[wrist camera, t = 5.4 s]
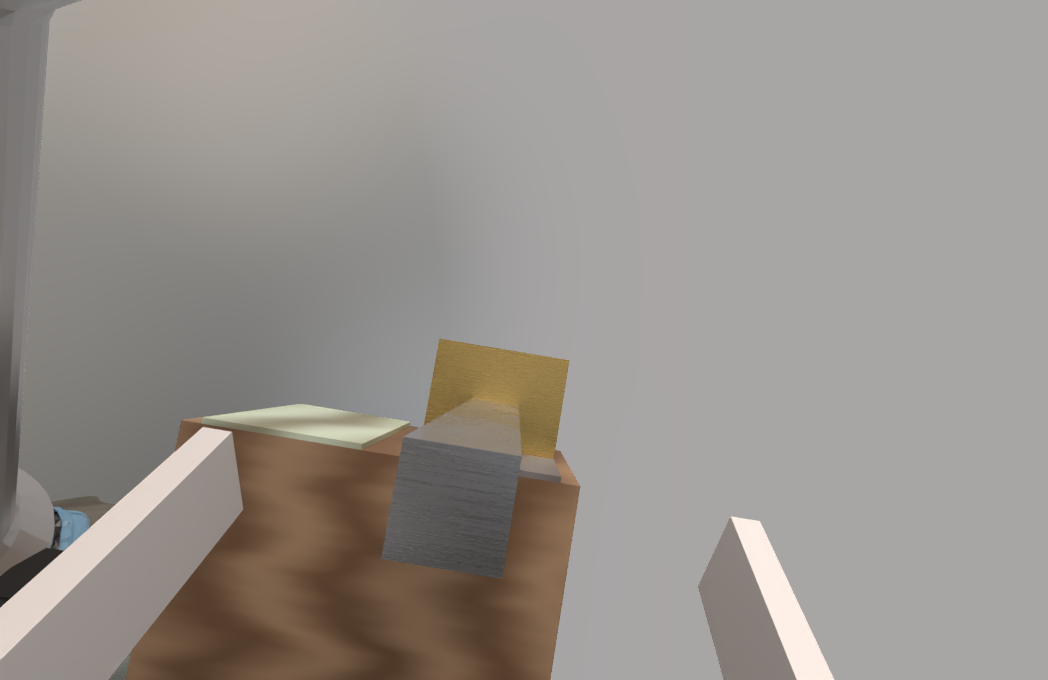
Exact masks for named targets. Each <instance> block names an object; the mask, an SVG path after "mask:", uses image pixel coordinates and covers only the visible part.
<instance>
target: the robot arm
mask: <svg viewBox="0 0 1048 680" xmlns="http://www.w3.org/2000/svg"><path fill="white" fill-rule="evenodd" d="M77 1H81V0H0V680H108V679H109V678H110V677H111V676H112V674H113V673H114V672H115V671H116V669H117V668H118V667H119V666H120V664H121V663H122V662H123V661H124V659H125V658H126V657H127V656H128V654H129V653H130V652H131V650H132V649H133V648H134V647H135V645H136V644H137V643H138V642H139V640H140V639H141V638H142V637H143V635H144V634H145V633H146V632H147V630H148V629H149V628H150V627H151V625H152V624H153V623H154V621H155V620H156V619H157V618H158V616H159V615H160V614H161V613H162V611H163V610H164V609H165V608H166V606H167V605H168V604H169V603H170V601H171V600H172V599H173V598H174V596H175V595H176V594H177V592H178V591H179V590H180V589H181V587H182V586H183V585H184V584H185V582H186V581H187V580H188V579H189V577H190V576H191V575H192V574H193V572H194V571H195V570H196V569H197V567H198V566H199V565H200V563H201V562H202V561H203V560H204V558H205V557H206V556H207V555H208V553H209V552H210V551H211V550H212V548H213V547H214V546H215V545H216V543H217V542H218V541H219V540H220V538H221V537H222V536H223V534H224V533H225V532H226V531H227V529H228V528H229V527H230V526H231V524H232V523H233V522H234V521H235V519H236V518H237V517H238V516H239V514H240V513H241V512H242V511H243V503H242V496H241V490H240V483H239V476H238V469H237V462H236V455H235V449H234V442H233V435H232V432H230V431H224V430H218V429H212V428H206V427H202V428H201V429H200V430H199V431H198V432H197V433H196V434H195V435H193V436H192V437H191V438H190V439H189V440H188V441H187V442H186V443H184V444H183V445H182V446H181V447H180V448H179V449H178V450H177V451H175V452H174V453H173V454H172V455H171V456H170V457H169V458H168V459H167V460H165V461H164V462H163V463H162V464H161V465H160V466H159V467H158V468H156V469H155V470H154V471H153V472H152V473H151V474H150V475H149V476H147V477H146V478H145V479H144V480H143V481H142V482H141V483H140V484H139V485H137V486H136V487H135V488H134V489H133V490H132V491H131V492H129V493H128V494H127V495H126V496H125V497H124V498H123V499H122V500H121V501H119V502H118V503H117V504H116V505H115V506H114V507H113V508H112V509H110V510H109V511H108V512H107V513H106V514H105V515H104V516H103V517H101V518H100V519H99V520H98V521H97V522H96V523H95V524H94V525H92V526H91V527H90V521H89V519H88V517H87V516H86V515H85V513H83V512H80V511H71V510H66V509H64V508H60V507H53V505H52V503H51V501H50V498H49V496H48V494H47V493H46V491H45V490H44V489H43V488H42V486H41V485H40V484H39V483H38V482H37V481H36V480H35V479H34V478H33V477H31V476H30V475H29V474H27V473H26V472H24V471H23V470H21V469H20V468H18V461H19V448H20V434H21V419H22V405H23V391H24V376H25V362H26V348H27V334H28V319H29V305H30V291H31V276H32V261H33V248H34V233H35V220H36V205H37V191H38V176H39V163H40V149H41V134H42V120H43V119H42V118H43V106H44V92H45V77H46V63H47V49H48V34H49V21H50V19H51V17H52V15H53V13H54V11H55V9H58V8H61V7H63V6H66V5H69V4H72V3H75V2H77ZM698 588H699V592H700V595H701V599H702V603H703V606H704V610H705V613H706V617H707V621H708V624H709V628H710V632H711V635H712V639H713V642H714V646H715V649H716V653H717V657H718V660H719V664H720V668H721V671H722V674H723V678H724V680H834V678H833V676H832V674H831V672H830V670H829V668H828V666H827V663H826V661H825V659H824V657H823V655H822V653H821V651H820V648H819V646H818V644H817V642H816V640H815V638H814V636H813V634H812V632H811V629H810V627H809V625H808V623H807V621H806V619H805V617H804V614H803V612H802V610H801V608H800V606H799V604H798V602H797V600H796V597H795V595H794V593H793V591H792V589H791V587H790V584H789V582H788V580H787V578H786V576H785V574H784V572H783V570H782V567H781V566H780V563H779V561H778V559H777V557H776V555H775V552H774V550H773V548H772V546H771V544H770V542H769V540H768V538H767V536H766V533H765V531H764V529H763V527H762V525H761V523H760V521H755V520H749V519H743V518H737V517H730V519H729V521H728V523H727V525H726V528H725V530H724V532H723V534H722V536H721V538H720V541H719V543H718V545H717V547H716V549H715V551H714V553H713V555H712V558H711V560H710V562H709V564H708V566H707V568H706V571H705V573H704V575H703V577H702V579H701V581H700V583H699V586H698Z"/></svg>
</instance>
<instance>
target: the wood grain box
mask: <svg viewBox="0 0 1048 680" xmlns="http://www.w3.org/2000/svg"><path fill="white" fill-rule="evenodd" d="M202 427H206V428H212V429H218V430H224V431H230V432H232V435H233V442H234V449H235V455H236V462H237V469H238V476H239V483H240V490H241V496H242V503H243V511H242V512H241V513H240V514H239V516H238V517H237V518H236V519H235V521H234V522H233V523H232V524H231V526H230V527H229V528H228V529H227V531H226V532H225V533H224V534H223V536H222V537H221V538H220V540H219V541H218V542H217V543H216V545H215V546H214V547H213V548H212V550H211V551H210V552H209V553H208V555H207V556H206V557H205V558H204V560H203V561H202V562H201V563H200V565H199V566H198V567H197V569H196V570H195V571H194V572H193V574H192V575H191V576H190V577H189V579H188V580H187V581H186V582H185V584H184V585H183V586H182V587H181V589H180V590H179V591H178V592H177V594H176V595H175V596H174V598H173V599H172V600H171V601H170V603H169V604H168V605H167V606H166V608H165V609H164V610H163V611H162V613H161V614H160V615H159V616H158V618H157V619H156V620H155V621H154V623H153V624H152V625H151V627H150V628H149V629H148V630H147V632H146V633H145V634H144V635H143V637H142V638H141V639H140V640H139V642H138V643H137V644H136V645H135V647H134V648H133V649H132V652H131V657H130V662H129V666H128V671H127V675H126V680H550V678H551V672H552V665H553V659H554V652H555V646H556V639H557V633H558V626H559V620H560V613H561V607H562V600H563V594H564V587H565V581H566V575H567V568H568V562H569V555H570V549H571V542H572V536H573V529H574V523H575V516H576V510H577V503H578V497H579V490H580V485H579V483H578V482H577V480H576V478H575V476H574V475H573V473H572V471H571V469H570V467H569V466H568V464H567V462H566V460H565V459H564V457H563V455H562V453H561V452H560V451H557V450H555V453H554V459H549V458H543V457H537V456H531V455H525V454H522V459H521V465H520V471H519V477H518V483H517V489H516V495H515V501H514V507H513V514H512V520H511V526H510V532H509V538H508V544H507V550H506V556H505V562H504V568H503V574H502V579H500V578H494V577H488V576H482V575H476V574H470V573H463V572H457V571H451V570H445V569H439V568H433V567H427V566H421V565H415V564H409V563H403V562H397V561H391V560H385V559H381V556H382V550H383V545H384V539H385V534H386V528H387V523H388V518H389V512H390V507H391V501H392V496H393V490H394V485H395V479H396V474H397V468H398V463H399V457H400V452H401V446H402V441H403V437H404V436H405V435H407V434H409V433H411V432H413V431H414V430H416V429H418V427H412V426H410V422H408V421H402V420H396V419H390V418H384V417H378V416H372V415H365V414H360V413H353V412H348V411H341V410H336V409H329V408H324V407H318V406H311V405H305V404H297V405H289V406H280V407H273V408H266V409H259V410H252V411H244V412H237V413H230V414H222V415H216V416H208V417H201V418H194V419H186V420H181V425H180V429H179V434H178V439H177V443H176V448H175V451H177V450H178V449H179V448H180V447H181V446H182V445H183V444H184V443H186V442H187V441H188V440H189V439H190V438H191V437H192V436H193V435H195V434H196V433H197V432H198V431H199V430H200V429H201V428H202Z"/></svg>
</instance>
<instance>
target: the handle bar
mask: <svg viewBox="0 0 1048 680" xmlns="http://www.w3.org/2000/svg"><path fill="white" fill-rule="evenodd" d="M568 365H569V360H563V359H557V358H552V357H546V356H539V355H534V354H527V353H521V352H516V351H510V350H503V349H498V348H492V347H486V346H480V345H473V344H468V343H461V342H456V341H450V340H444V339H439V344H438V350H437V355H436V361H435V367H434V372H433V378H432V383H431V389H430V395H429V401H428V406H427V411H426V417H425V422H424V425H423V426H422V427H420V428H418V429H416V430H414V431H413V432H411V433H409V434H407V435H405V436H404V437H403V441H402V446H401V452H400V457H399V463H398V468H397V474H396V479H395V485H394V490H393V496H392V501H391V507H390V512H389V518H388V523H387V528H386V534H385V539H384V545H383V550H382V556H381V559H385V560H391V561H397V562H403V563H409V564H415V565H421V566H427V567H433V568H439V569H445V570H451V571H457V572H463V573H470V574H476V575H482V576H488V577H494V578H500V579H502V574H503V568H504V562H505V556H506V550H507V544H508V538H509V532H510V526H511V520H512V514H513V507H514V501H515V495H516V489H517V483H518V477H519V471H520V465H521V459H522V454H525V455H531V456H537V457H543V458H549V459H554V453H555V447H556V441H557V435H558V428H559V422H560V415H561V409H562V403H563V397H564V391H565V384H566V378H567V372H568Z"/></svg>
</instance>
